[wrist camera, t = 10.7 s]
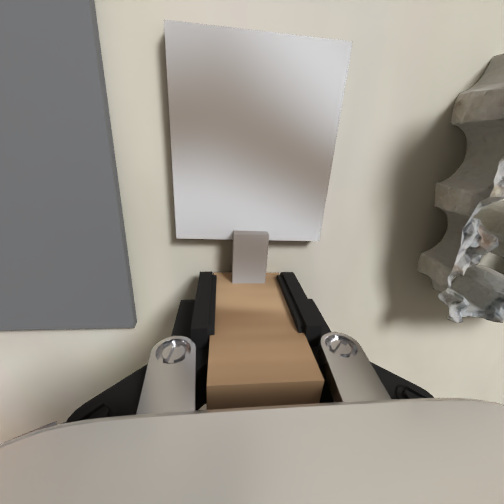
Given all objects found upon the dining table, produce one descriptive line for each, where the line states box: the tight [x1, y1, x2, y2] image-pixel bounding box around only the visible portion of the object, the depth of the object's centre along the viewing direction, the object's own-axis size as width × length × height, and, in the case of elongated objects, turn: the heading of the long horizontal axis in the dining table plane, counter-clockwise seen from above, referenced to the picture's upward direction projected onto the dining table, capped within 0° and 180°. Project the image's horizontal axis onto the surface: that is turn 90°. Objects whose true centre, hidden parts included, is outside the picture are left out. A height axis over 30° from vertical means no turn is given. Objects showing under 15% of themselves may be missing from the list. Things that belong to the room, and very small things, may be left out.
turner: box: [164, 20, 353, 410], centre depth 8 cm, size 12×6×6 cm, turn 177°
